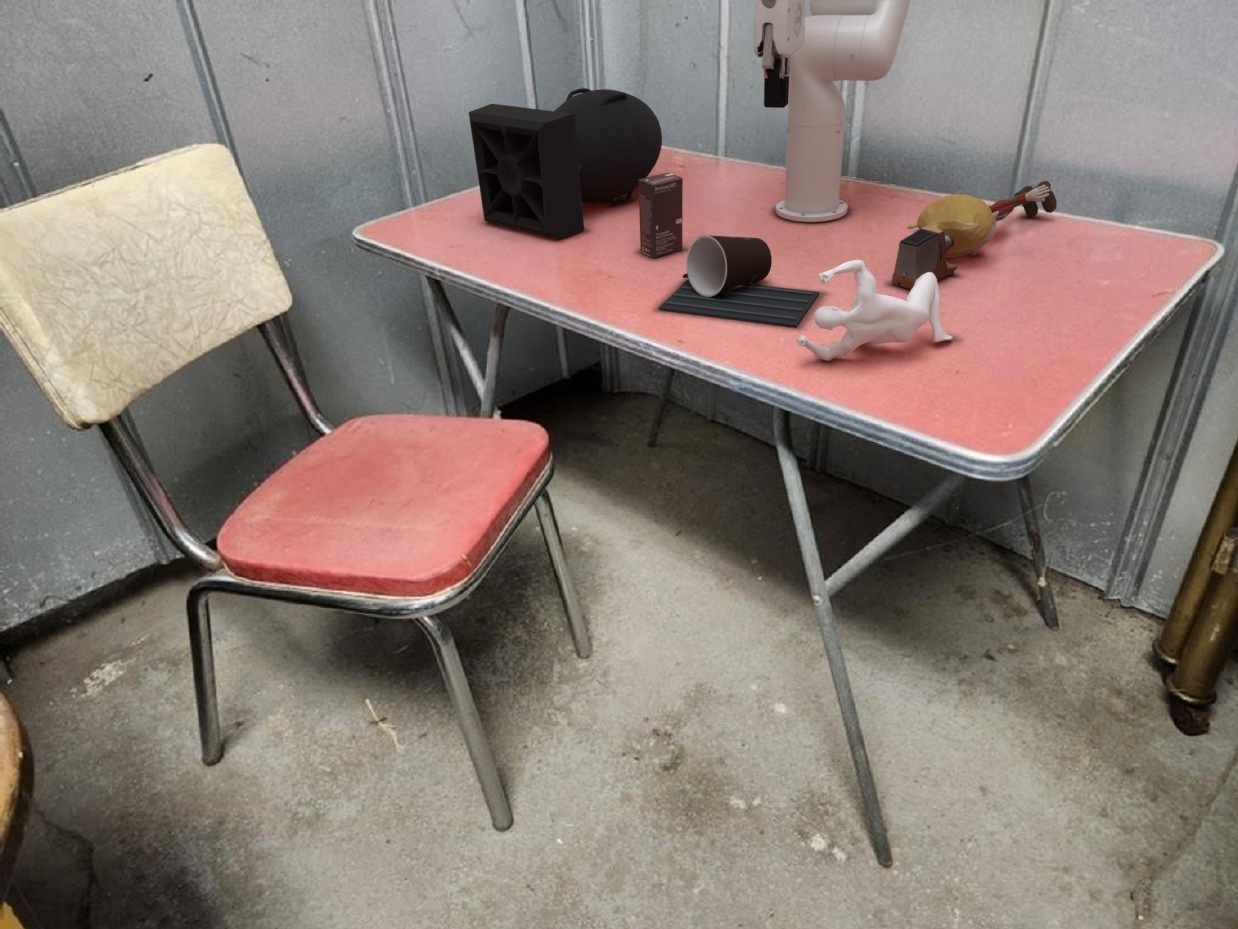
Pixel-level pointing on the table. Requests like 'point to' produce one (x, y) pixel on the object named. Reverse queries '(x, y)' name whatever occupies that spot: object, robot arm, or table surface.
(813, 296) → the drying mat
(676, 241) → the box
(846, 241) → the table surface
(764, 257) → the coffee mug
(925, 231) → the electronic device
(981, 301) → the table surface
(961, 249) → the toy
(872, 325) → the person figurine
